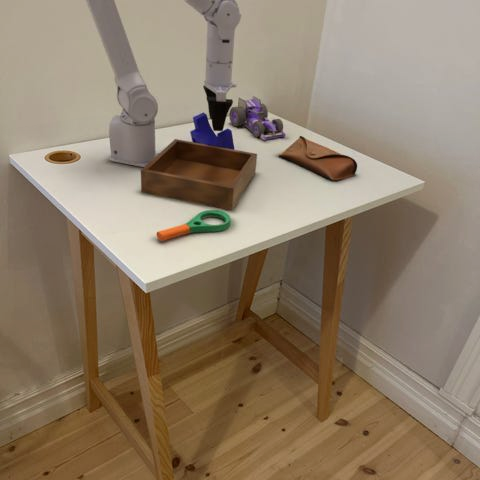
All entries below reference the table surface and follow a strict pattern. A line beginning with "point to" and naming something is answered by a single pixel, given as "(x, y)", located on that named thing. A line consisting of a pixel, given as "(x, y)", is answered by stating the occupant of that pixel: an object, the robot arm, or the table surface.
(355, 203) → the table surface
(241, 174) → the crate
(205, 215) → the magnifying glass
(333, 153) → the sunglasses case
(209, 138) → the cable clip
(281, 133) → the toy race car
